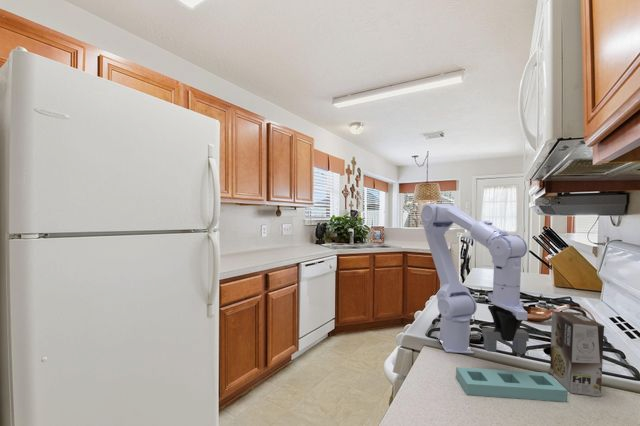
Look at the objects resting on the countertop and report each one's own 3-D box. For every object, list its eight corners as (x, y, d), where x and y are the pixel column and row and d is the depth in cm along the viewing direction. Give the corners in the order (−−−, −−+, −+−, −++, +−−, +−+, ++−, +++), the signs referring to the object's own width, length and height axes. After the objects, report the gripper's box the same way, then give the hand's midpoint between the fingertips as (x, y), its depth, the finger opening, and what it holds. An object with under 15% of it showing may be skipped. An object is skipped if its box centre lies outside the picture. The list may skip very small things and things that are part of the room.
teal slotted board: (467, 394, 68) (467, 383, 68) (455, 377, 75) (456, 367, 75) (567, 401, 66) (567, 390, 66) (546, 383, 73) (546, 372, 73)
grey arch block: (481, 346, 78) (482, 327, 78) (522, 348, 77) (523, 329, 77) (485, 351, 75) (486, 331, 75) (528, 353, 75) (528, 333, 75)
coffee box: (602, 397, 68) (606, 326, 68) (569, 393, 69) (572, 323, 69) (577, 375, 77) (580, 312, 77) (548, 371, 78) (551, 309, 78)
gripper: (542, 293, 68) (540, 352, 69) (507, 277, 83) (505, 327, 83) (509, 291, 69) (507, 351, 69) (480, 276, 83) (479, 325, 84)
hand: (504, 338), depth 76 cm, fingers closed on grey arch block, 2 cm apart
